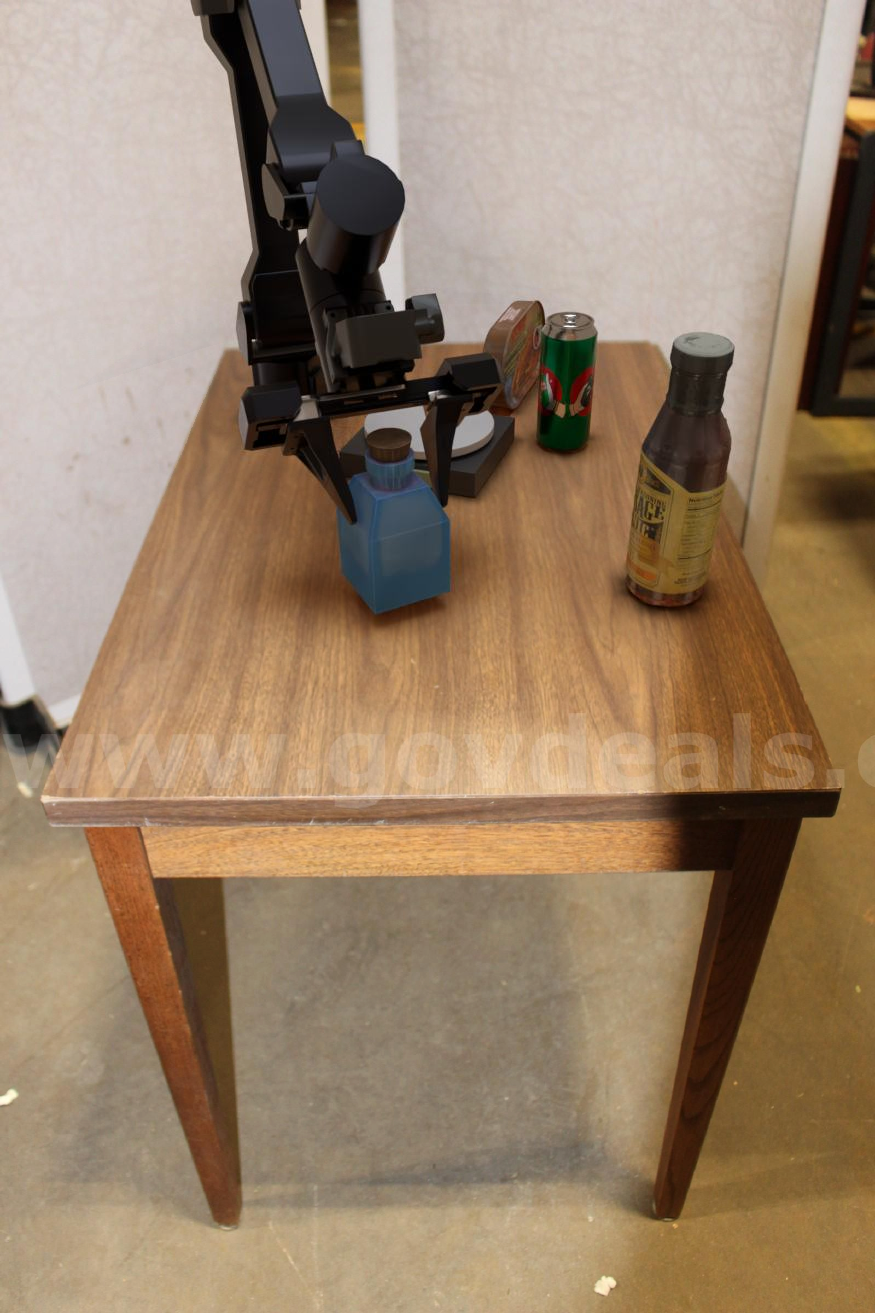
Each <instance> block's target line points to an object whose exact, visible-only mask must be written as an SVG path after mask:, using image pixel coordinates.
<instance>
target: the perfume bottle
mask: <svg viewBox="0 0 875 1313" xmlns="http://www.w3.org/2000/svg"><path fill="white" fill-rule="evenodd" d="M411 440H412V435H411V434H410V433H409V432H408V431H406V430H403V429H400V428H381V429H377V430H374V431H372V432H371V433H369V434H368V435H367V437H366V441H367V444H368V448H369V449H368V450H367V451H366V452H365V462H366V469H367V471H368V472H364V473H360V474H356V475H354V476H353V477H351V478H350V480H349V482H347V483H348V485H349V488H350V491H351V494H352V497H353V501H354V506H355V510H356V515H357V522H356V524H355V525H350V524H349V523H348V521H347V520H346V518H345V517H344V516H343V514H342V513H341V511H340V510H339V509H338V507H337V506H336V505H335V509H336V520H337V521H336V522H337V532H338V533H337V534H338V546H339V555H340V556H339V557H340V570H341V574H342V575H343V577H344V578H345V579H346V580H347V582H348V583H349V584H350V585H351V586H352V588H353V589H354V591H355V592H357V594H358V595H359V596H360V597H361V599H362V600H363V602H364V603H365V604H366V605H367V606H368V607H369V609H370V610H371V611H372V612H373V614H374V615H379V614H382V613H386V612H388V611H391V610H395V609H398V608H401V607H405V606H407V605H411V604H415V603H417V602H420V601H423V600H424V601H425V600H428V599H431V598H434V597H437V596H440V595H444V594H447V593H450V592H452V591H451V518H450V517H449V515H448V514H447V512H446V511H445V510H444V509H445V508H442V506H441V505H440V503H439V502H438V500H437V498H436V497H435V495H434V492H433V490H431V489H430V487H429V486H428V485H427V484H426V483H425V482H424V481H423V480H422V479H421V478H420V477H419V476H418V475H417V474H416V473H414V472H413V471H412V470H413V469H414V467H415V459H414V451H413V449H412V448H411V447H410V445H411Z"/></svg>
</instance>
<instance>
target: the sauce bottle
mask: <svg viewBox="0 0 875 1313" xmlns="http://www.w3.org/2000/svg"><path fill="white" fill-rule="evenodd" d="M735 349H736V348H735V344H734V343H733V342H732V341H731V339H729V338H727V337H726V336H723V335H721V334H717V333H713V332H707V331H693V332H687V333H683V334H681V335H678V336H677V337H676V338H675V339H674V340H673V342H672V346H671V351H670V355H669V360H670V361H669V362H670V365H671V369H670V374H669V381H668V387H667V388H668V389H667V392H666V393H665V400H664V402H663V403H662V406H661V407H660V409H659V410H658V413H657V415H656V416H655V419H654V421H653V422H652V424H651V426H650V428H649V430H648V433H647V434H646V436H645V438H644V440H643V442H642V444H641V448H640V454H639V462H638V470H637V477H636V484H635V490H634V498H633V506H632V512H631V522H630V530H629V536H628V542H627V543H628V545H627V552H626V559H625V570H626V576H625V581H626V588H627V589H628V590H629V591H630V593H632V594H633V596H635V597H636V598H639V600H640V601H641V602H643V603H645V604H647V605H651V606H659V607H666V608H673V607H682V606H686V605H689V604H692V603H694V602H695V601H697V600H698V599H700V597H701V595H702V594H703V590H704V587H705V583H706V582H707V579H708V577H709V573H710V572H709V571H710V567H711V566H710V565H711V562H712V556H713V551H714V547H715V546H714V545H715V540H716V536H717V531H718V526H719V520H720V515H721V510H722V505H723V501H724V495H725V490H726V484H727V482H728V481H727V480H728V472H727V471H728V467H729V466H728V465H729V460H730V455H731V451H732V444H733V442H732V441H733V439H732V433H731V429H730V427H729V424H728V420H727V417H725V416H724V413H723V412H722V408H723V405H724V403H725V397H724V395H725V394H724V393H725V390H726V383H727V378H728V372H729V371H730V369H731V367H733V364H734V356H735Z"/></svg>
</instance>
